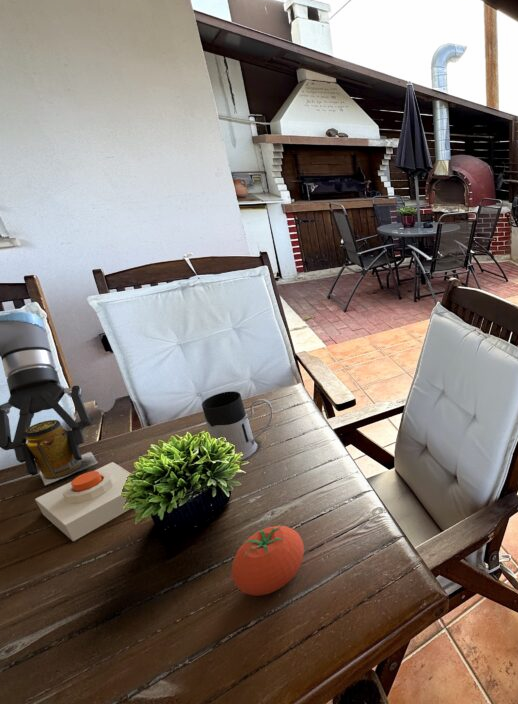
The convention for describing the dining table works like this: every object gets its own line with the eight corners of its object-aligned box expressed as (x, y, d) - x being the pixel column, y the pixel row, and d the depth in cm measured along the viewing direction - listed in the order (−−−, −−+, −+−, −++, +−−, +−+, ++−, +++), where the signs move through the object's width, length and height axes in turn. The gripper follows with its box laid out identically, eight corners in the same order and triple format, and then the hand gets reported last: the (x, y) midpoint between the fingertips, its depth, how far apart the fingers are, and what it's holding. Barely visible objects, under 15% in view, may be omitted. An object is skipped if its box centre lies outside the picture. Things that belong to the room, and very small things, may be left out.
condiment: (39, 472, 90) (15, 428, 86) (91, 452, 96) (71, 409, 92) (45, 486, 86) (20, 440, 82) (98, 464, 93) (78, 420, 88)
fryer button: (70, 488, 79) (67, 481, 79) (97, 475, 83) (93, 468, 82) (79, 494, 78) (76, 487, 77) (106, 481, 81) (103, 474, 80)
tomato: (321, 563, 70) (311, 520, 67) (269, 620, 61) (254, 574, 58) (280, 544, 74) (268, 502, 70) (224, 595, 65) (208, 551, 61)
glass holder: (223, 444, 101) (207, 392, 95) (285, 435, 104) (273, 385, 99) (208, 467, 93) (190, 412, 88) (276, 456, 96) (263, 403, 91)
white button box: (43, 515, 80) (30, 491, 78) (119, 476, 90) (109, 455, 88) (73, 542, 74) (60, 517, 72) (151, 497, 84) (142, 475, 82)
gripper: (93, 367, 101) (119, 450, 96) (-26, 394, 88) (-5, 492, 83) (85, 354, 95) (112, 441, 90) (-44, 382, 83) (-22, 485, 78)
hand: (56, 465), depth 87 cm, fingers closed on condiment, 6 cm apart
